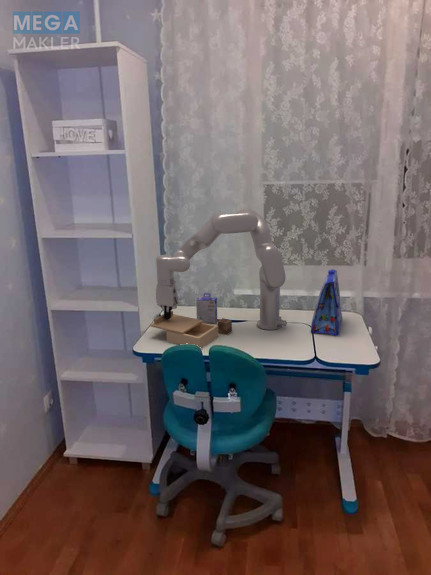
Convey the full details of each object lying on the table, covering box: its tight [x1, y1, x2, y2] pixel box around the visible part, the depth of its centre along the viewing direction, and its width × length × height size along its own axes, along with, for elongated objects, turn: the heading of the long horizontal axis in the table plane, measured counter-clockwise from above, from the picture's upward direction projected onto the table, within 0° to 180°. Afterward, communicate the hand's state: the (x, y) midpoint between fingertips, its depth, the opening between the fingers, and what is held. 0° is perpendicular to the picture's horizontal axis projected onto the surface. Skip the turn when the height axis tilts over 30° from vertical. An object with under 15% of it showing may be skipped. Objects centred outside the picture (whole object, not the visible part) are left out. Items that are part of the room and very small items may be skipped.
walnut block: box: [216, 317, 233, 336], centre depth 222 cm, size 5×5×6 cm
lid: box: [149, 310, 203, 334], centre depth 218 cm, size 18×16×3 cm
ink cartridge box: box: [195, 292, 218, 324], centre depth 234 cm, size 10×6×14 cm, turn 79°
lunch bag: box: [310, 269, 343, 337], centre depth 222 cm, size 22×14×29 cm, turn 161°
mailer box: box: [165, 323, 219, 349], centre depth 215 cm, size 18×16×5 cm
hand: (167, 318), depth 221 cm, fingers closed
